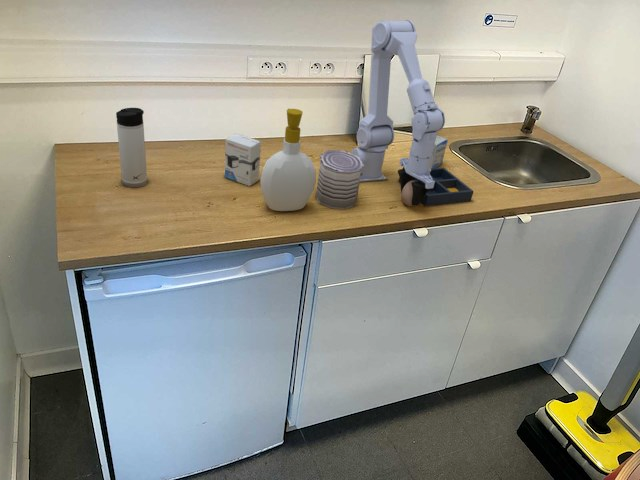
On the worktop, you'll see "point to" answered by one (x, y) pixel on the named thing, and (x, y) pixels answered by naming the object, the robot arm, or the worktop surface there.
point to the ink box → (242, 159)
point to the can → (338, 179)
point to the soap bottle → (288, 171)
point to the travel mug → (132, 146)
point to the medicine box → (438, 152)
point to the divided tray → (445, 189)
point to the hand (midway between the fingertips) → (410, 199)
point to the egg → (407, 193)
